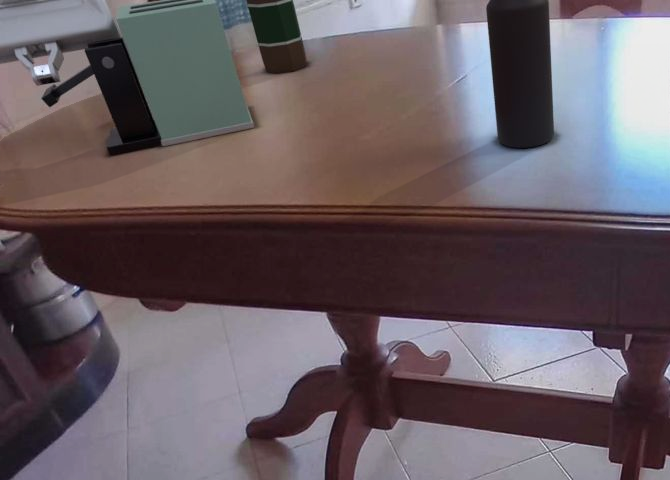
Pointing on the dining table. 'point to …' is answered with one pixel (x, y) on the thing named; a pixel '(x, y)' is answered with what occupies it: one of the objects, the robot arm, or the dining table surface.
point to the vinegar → (521, 71)
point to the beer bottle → (278, 35)
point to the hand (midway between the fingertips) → (46, 81)
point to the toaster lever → (66, 86)
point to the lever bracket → (122, 97)
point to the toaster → (185, 68)
